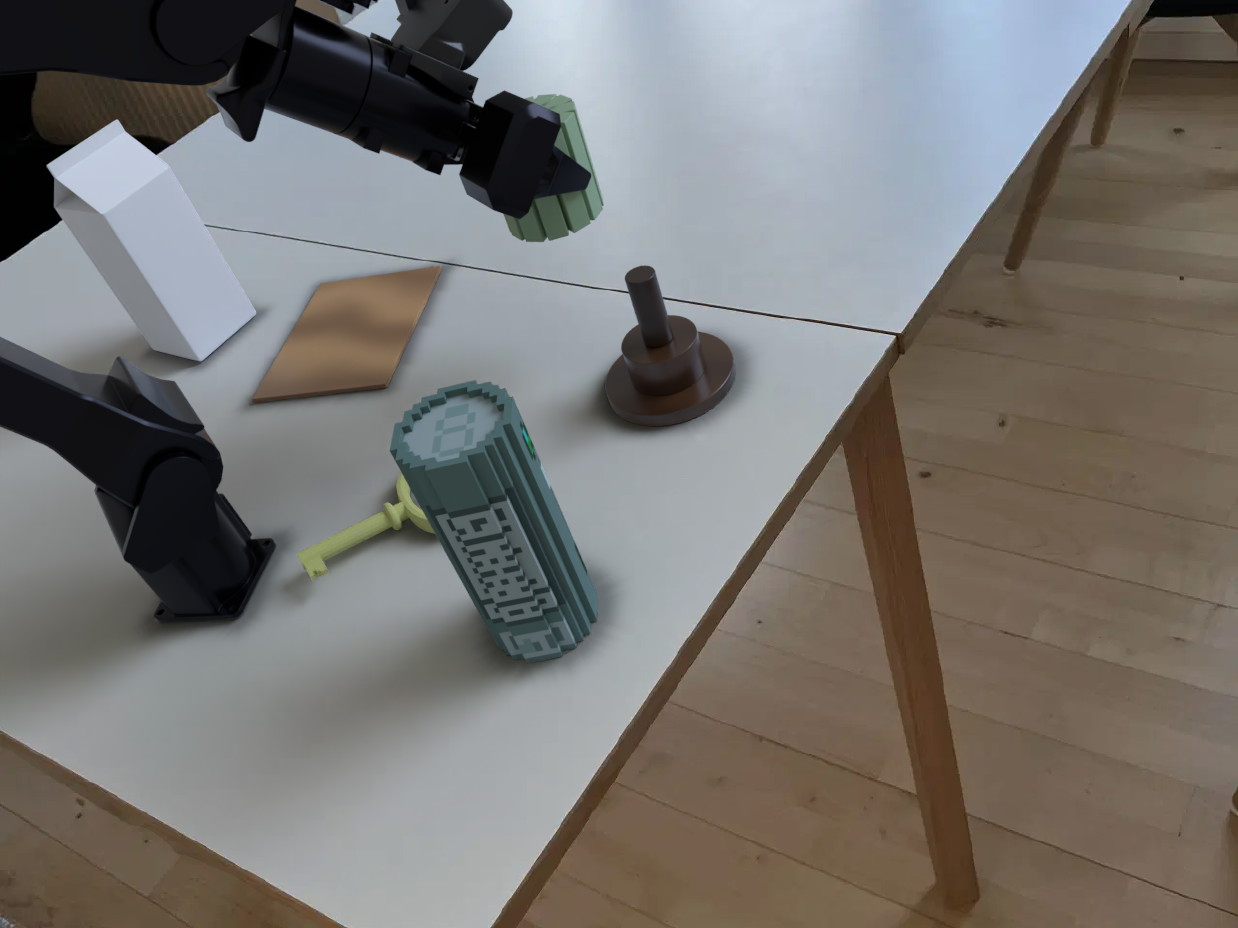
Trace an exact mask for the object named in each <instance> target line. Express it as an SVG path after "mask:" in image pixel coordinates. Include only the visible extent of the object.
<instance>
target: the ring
mask: <svg viewBox="0 0 1238 928" xmlns="http://www.w3.org/2000/svg"><path fill="white" fill-rule="evenodd" d="M524 99H526V100H529V101H531V102H533V103H536V104H538V105H540V106H543V107H545V108H547V109H549V110H552V111H554V112H556V113H559V114H560V120H561V128H560V131H559V133H558V136H557V139H556V141H555V144H554V145H555V146H556V147H557V148H559V149H560V150H561V151H563V152H564V153H565V154H567V155H568V156H569V157H571V158H572V159H573V160H574V161H576V162H577V163H578V164H580V165H581V166H582V167H584V168H585V169H586V170H588V171H589V172H590V173H591V179H590V182H589V184H588V187H587V188H586V189H585V190H581V191H576V192H570V193H565V194H559V195H554V196H548V197H543V198H538V199H534V200H533V202H532V205H531V207H530V210H529V213H528V214H526V215H525V216H524V217H523V218H521V219H517V218H514V217H512V216H509V215H506V214H503V216H504V219H505V222H506V225H507V227H508V231H509V233H510V234H511V236H513V237H515V238H516V239H518V240H520V241H522V242H523V241H524V240H525V242H526V243H545V241H546V240H547V239H548V241H550V242H551V241H554V240H558V239H561V238H565V237H569V236H570V233H571V232H572V233H573V234H576V233H578V232H580V230H582V229H584V228H586V227H587V226H589V225H591V221H596V219H597V218H598V216H599V215H600V214H601V212H602V211H603V209H604V208H603V207H604V206H605V203H604V197H603V193H602V190H601V187H600V183H599V180H598V176H597V174H596V173H597V172H596V169H595V166H594V163H593V159H592V156H591V153H590V150H589V147H588V142H587V139H586V136H585V133H584V129H583V126H582V124H581V120H580V116H579V113H578V110H577V106H576V103H575V101H574V100H573V99H572V97H569V96H566V95H563V94H559V95H558V94H557V93H551V94H538V95H537V96H536V97H534V95H533V96H529V97H526V98H524Z"/></svg>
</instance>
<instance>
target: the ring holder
mask: <svg viewBox="0 0 1238 928" xmlns="http://www.w3.org/2000/svg"><path fill="white" fill-rule="evenodd" d="M624 282H625V285H626V288H627V292H628V295H629V298H630V302H631V304H632V307H633V311H634V314H635V318H636V321H637V324H636V325H635V326H634V327H632V328H631V329H630V330H629V331H628V332H627V333H626V334H625V336H624V337H623V338H622V342H621V346H620V349H621V353H622V354H621V355H619V357H617V359H615V361H614V362H613V364H612V365H611V366H610V368H609V370H608V371H607V373H606V378H605V382H604V383H605V384H604V387H605V389H604V390H605V393H606V397H607V399H608V403H609V405H610V407H611V409H612V410H613V412H614V413H616V415H618V416H619V417H620V418H622V419H623V420H625V421H628V422H630V423H632V424H635V425H640V426H646V427H664V426H665V427H666V426H671V425H676V424H680V423H684V422H686V421H690V420H692V419H696V418H697V417H699V416H701V415H703V414H705V413H707V412H708V411H710V410H711V409H713V408H714V407H716V406H717V405H718V404H719V403H721V401H722V400H724V398H725V397H727V395H728V394H729V392H730V391H731V389H732V387H733V385H734V382H735V379H736V375H737V367H736V362H735V359H734V355H733V354H734V353H732V350H731V348H730V347H729V345H728V344H727V343H726V342H725V341H724V340H722V339H721V338H720V337H718V336H715V335H714V334H711V333H707V332H704V331H698V329H697V326H696V324H695V323H694V322H693V321H692V320H691V319H689V318H687V317H685V316H682V315H675V314H668V311H667V307H666V304H665V301H664V296H663V293H662V291H661V287H660V283H659V279H658V276H657V273H656V270H655V268H654V267H653V266H650V265H638V266H636V267H633V268H631V269H630V270H628V271H627V272H626V273H625V275H624Z"/></svg>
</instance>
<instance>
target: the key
mask: <svg viewBox="0 0 1238 928" xmlns="http://www.w3.org/2000/svg"><path fill="white" fill-rule="evenodd" d="M395 485H396V486H395V487H396V493H397V499H398V502H397V503H395V504H393V505H392V503H390V502H388V501H387V502H384V503H383V505H382V511H380V512H378V513H377V512H376V514H374V515H371V516H368V517H367V518H365V519H364V520H361V521H359V522H357V523H355V524H353V525H351V526H349V527H347V528H345V529H343V530H342V531H339V532H337V533H334V534H333V535H331V536H329V537H327V538H324V539H323V540H321V541H319V542H317V543H315V544H313V545H310V546H308V547H307V548H305V549H303V550H301V551H298V552H296V556H297V558H298V560H299V561H300V563H301V565H302V568H303V569H304V570H305V571H307V573H308V575H309V577H310V579H311V581H312V582H315V581H316V580H317V577H316V576H319V577H321V576H322V577H325V576H327V575H328V574H330V572H329V569H328V568H327V566H326V564H325V561H326V560H328V559H331V558H332V557H334V556H336V555H338V554H340V553H343V552H345V551H346V550H348V549H350V548H352V547H354V546H357V545H359V544H360V543H362V542H364V541H366V540H368V539H370V538H372V537H374V536H377V535H378V534H380V533H383V532H384V531H386V530H389V529H390V528H392V529H393V530H395V531H400V530H401V529H402V522H404V521H407V520H409V519H410V520H411V522H412V523H413V524H414V525H415V526H416V527H418V528H419V529H421V530H423V531H425V532H426V533H427V532H428V533H431V534H434V535H436V534H435V532H434V531H433V529H432V527H431V525H430V523H429V522H428V520H427V518H426V516H425V514H424V513H423V511H422V509H421V508H419V507H418V506H417V505H416V504H415V503H414V502H413V500H412V497H411V492H412V491H411V489H410V487H409V485H408V484H407V482H406V480H405V478H404V476H403V474H402V473H401V472H400V473H399V475H398V476H397V480H396V484H395Z"/></svg>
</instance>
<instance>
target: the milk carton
mask: <svg viewBox="0 0 1238 928" xmlns="http://www.w3.org/2000/svg"><path fill="white" fill-rule="evenodd" d="M46 168H47V170H48V171H49V172H50V174H51V175H52V177H53V180H54V181H53V182H54V183H53V185H54V186H53V189H54V190H53V208H54V209H55V211H56V212H57V214H58V215H59V217H60V218H61V220H62V221H63V223H64V224H65V226H66V227H67V229H69V231H70V232H71V234H72V236H73V237H74V238H75V240H76V241H77V243H78V244H79V246H80V247H81V248H82V250H83V251H84V253H85V254H86V256H88V259H89V260H90V261H91V263H92V264H93V265H94V267H95V268H96V270H97V272H98V273H99V274H100V276H101V277H102V278H103V280H104V281H105V283H106V284H107V286H108V287H109V288H110V290H111V292H112V293H113V295H114V296H115V297H116V299H117V300H118V302H119V303H120V304H121V306H122V307H123V309H124V310H125V312H126V313H127V314H128V316H129V317H130V319H131V320H132V322H133V323H134V325H135V326H136V328H137V329H138V331H140V333H141V335H142V336H143V337H144V339H145V340H146V343H148V345H149V346H150V348H151V349H152V350H153V351H155V352H159V353H160V352H161V353H164V354H168V355H172V356H177V357H180V358H183V359H188V360H192V361H196V362H203V361H204V360H205V359H206V358H208V356H210V355H211V354H212V353H214V351H215V350H217V349H219V347H220V346H222V344H224V343H225V342H226V341H227V340H228V339H230V338H231V337H232V336H234V334H235V333H237V331H239V330H240V329H241V328H242V327H243V326H245V325H246V324H247V323H248V322H249V321H250V320H251V319H252V318H254V317H255V316H256V315H257V311H256V309H255V306H253V304H252V302H251V300H250V299H249V297H248V296H247V293H246V292H245V291H244V288H243V287H242V285H241V284H240V282H239V280H238V279H237V277H236V276H235V274H234V272H233V270H232V269H231V267H230V265H229V264H228V262H227V261H226V258H225V256H224V255H223V254H222V252H221V250H220V249H219V247H218V245H217V244H216V242H215V240H214V239H213V236H212V235H211V233H210V232H209V230H208V229H207V227H206V225H205V224H204V222H203V220H202V218H201V217H200V215H199V214H198V212H197V210H196V209H195V206H194V205H193V203H192V202H191V200H190V198H189V196H188V195H187V194H186V191H185V190H184V189H183V187H182V185H181V183H180V182H179V180H178V178H177V177H176V175H175V173H174V171H173V170H172V168H171V167H170V165H169V164H168V163H167V162H165V161H164V160H163V159H161V158H160V157H159V156H157V155H156V154H155V153H154V152H152V151H151V150H150V149H148V148H147V147H146V146H145V145H144V144H142V143H141V142H140V141H138V140H137V139H136V138H135V137H133V136H132V135H131V134H129V133H128V132H127V131H126V130H125V128H124V127H123V125H122V124H121V122H120V121H119V119H115V120H113V121H112V122H110V123H108V124H107V125H105V126H104V127H103V128H100V129H99V130H98V131H96V132H95V133H93V134H92V135H90V136H89V137H88V138H86V139H84V140H83V141H81V142H79V143H78V144H77V145H75V146H74V147H72V148H70V149H69V150H67V151H66V152H64V153H62V154H61V155H60V156H58V157H57V158H55V159H53V160H52V161H50V162H49V163H48V164H46Z"/></svg>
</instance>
